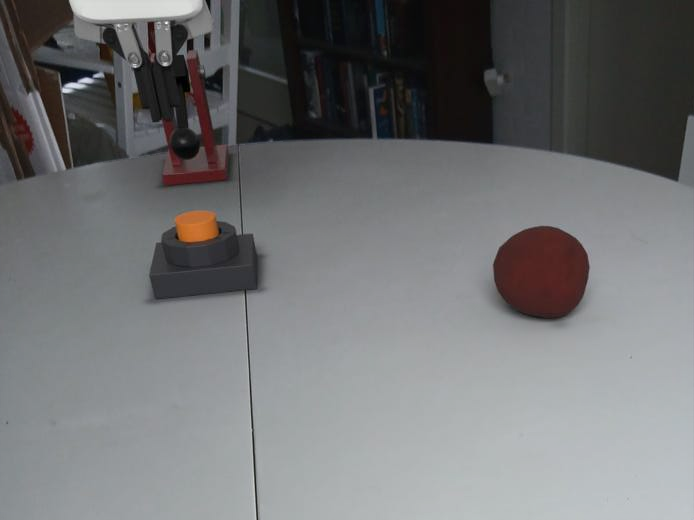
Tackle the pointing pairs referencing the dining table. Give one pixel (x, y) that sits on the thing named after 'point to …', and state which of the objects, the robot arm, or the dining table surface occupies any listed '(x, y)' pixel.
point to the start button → (196, 226)
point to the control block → (204, 264)
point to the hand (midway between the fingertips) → (163, 117)
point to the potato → (542, 271)
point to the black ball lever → (183, 115)
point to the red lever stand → (211, 156)
